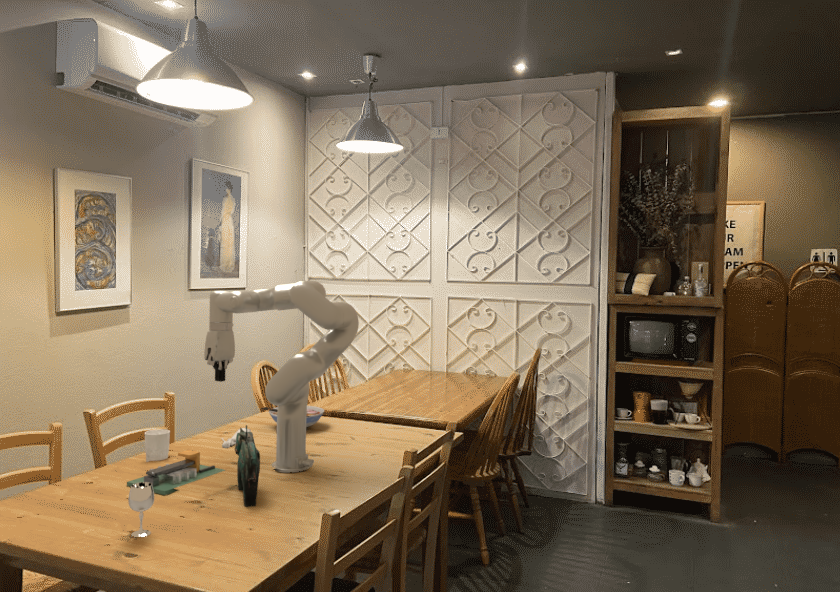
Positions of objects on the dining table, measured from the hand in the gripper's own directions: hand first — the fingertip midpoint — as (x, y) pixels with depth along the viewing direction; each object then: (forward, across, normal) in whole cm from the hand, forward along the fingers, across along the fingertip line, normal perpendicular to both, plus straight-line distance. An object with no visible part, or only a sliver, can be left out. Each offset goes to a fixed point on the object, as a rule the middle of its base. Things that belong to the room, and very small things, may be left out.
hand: (220, 380), depth 219 cm
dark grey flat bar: (+23, +25, +5) cm, 34 cm away
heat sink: (+26, +26, +5) cm, 37 cm away
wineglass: (+27, +56, +30) cm, 69 cm away
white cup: (+27, +12, -16) cm, 34 cm away
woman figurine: (+28, -20, -12) cm, 36 cm away
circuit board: (+27, +22, +5) cm, 35 cm away
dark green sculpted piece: (+27, +22, +33) cm, 48 cm away
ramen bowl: (+27, -51, -7) cm, 58 cm away
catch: (+26, +18, +5) cm, 32 cm away
